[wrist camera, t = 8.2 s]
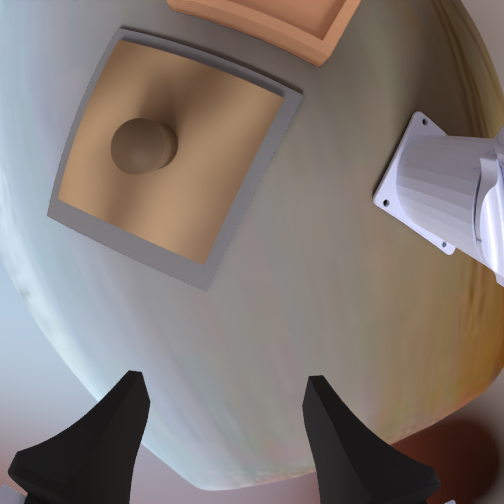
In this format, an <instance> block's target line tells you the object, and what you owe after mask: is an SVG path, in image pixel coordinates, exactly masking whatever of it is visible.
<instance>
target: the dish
mask: <svg viewBox="0 0 504 504" xmlns="http://www.w3.org/2000/svg"><path fill="white" fill-rule="evenodd" d="M360 1H361V0H167V2H168V4H169V6H170V8H171V9H172V10H173V11H177V12H181V13H185V14H189V15H192V16H196V17H199V18H202V19H206V20H209V21H212V22H215V23H218V24H221V25H224V26H227V27H230V28H232V29H235V30H238V31H240V32H243V33H246V34H248V35H251V36H253V37H256V38H258V39H260V40H263V41H265V42H267V43H270V44H272V45H274V46H277V47H279V48H281V49H283V50H285V51H287V52H289V53H291V54H293V55H296V56H298V57H300V58H301V59H303V60H305V61H307V62H309V63H311V64H313V65H315V66H317V67H320V66H321V65H322V64H323V63H324V62H325V61H326V60H327V59H328V58H329V57H330V55H331V53H332V52H333V50H334V48H335V46H336V44H337V43H338V41H339V39H340V37H341V35H342V33H343V32H344V30H345V28H346V26H347V24H348V23H349V21H350V19H351V17H352V15H353V14H354V12H355V10H356V8H357V7H358V5H359V3H360Z"/></svg>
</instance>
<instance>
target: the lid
mask: <svg viewBox="0 0 504 504" xmlns="http://www.w3.org/2000/svg"><path fill="white" fill-rule="evenodd" d="M284 99H285V98H283V97H281V96H279V95H277V94H274V93H272V92H270V91H268V90H266V89H264V88H261V87H259V86H257V85H255V84H252V83H250V82H248V81H246V80H243V79H241V78H238V77H236V76H233V75H231V74H229V73H226V72H223V71H221V70H218V69H216V68H213V67H210V66H207V65H205V64H202V63H199V62H196V61H193V60H190V59H187V58H184V57H181V56H178V55H175V54H172V53H168V52H165V51H161V50H158V49H154V48H151V47H147V46H143V45H139V44H135V43H131V42H127V41H122V40H118V42H117V44H116V45H115V47H114V49H113V51H112V53H111V55H110V57H109V59H108V61H107V63H106V65H105V67H104V69H103V71H102V73H101V75H100V77H99V79H98V81H97V83H96V86H95V88H94V90H93V93H92V95H91V97H90V100H89V102H88V104H87V107H86V109H85V112H84V114H83V117H82V120H81V122H80V125H79V128H78V131H77V133H76V136H75V139H74V142H73V145H72V148H71V151H70V155H69V158H68V161H67V165H66V168H65V172H64V175H63V179H62V183H61V187H60V191H59V195H58V199H59V200H61V201H63V202H65V203H68V204H70V205H72V206H74V207H76V208H78V209H80V210H82V211H84V212H86V213H88V214H91V215H93V216H95V217H97V218H99V219H101V220H103V221H105V222H108V223H110V224H112V225H114V226H116V227H118V228H121V229H123V230H125V231H127V232H129V233H132V234H134V235H136V236H138V237H140V238H143V239H145V240H147V241H149V242H151V243H154V244H156V245H158V246H160V247H163V248H165V249H167V250H169V251H172V252H174V253H176V254H179V255H181V256H183V257H185V258H188V259H190V260H192V261H195V262H197V263H199V264H202V265H204V264H205V262H206V260H207V258H208V256H209V253H210V251H211V249H212V247H213V244H214V242H215V240H216V238H217V236H218V234H219V231H220V229H221V227H222V225H223V223H224V221H225V218H226V216H227V214H228V212H229V210H230V208H231V206H232V203H233V201H234V199H235V197H236V195H237V193H238V191H239V189H240V187H241V185H242V182H243V180H244V178H245V176H246V174H247V172H248V170H249V168H250V166H251V164H252V162H253V160H254V158H255V156H256V154H257V152H258V150H259V148H260V146H261V144H262V142H263V140H264V138H265V136H266V134H267V132H268V130H269V128H270V126H271V124H272V122H273V120H274V118H275V116H276V114H277V112H278V110H279V108H280V106H281V105H282V103H283V101H284Z"/></svg>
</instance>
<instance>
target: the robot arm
mask: <svg viewBox="0 0 504 504" xmlns="http://www.w3.org/2000/svg"><path fill="white" fill-rule="evenodd" d="M423 119H424V121H425V125H424V124H423V122H422V121H423ZM384 200H387V204H386V205H383V202H384ZM373 202H374V203H375V204H376V205H377V206H379V207H380V208H382V209H383V210H385V211H386V212H388V213H389V214H391V215H392V216H394V217H395V218H397V219H398V220H400V221H401V222H403V223H404V224H406V225H407V226H409V227H410V228H412V229H413V230H415V231H416V232H417V233H419V234H420V235H422V236H423V237H424V238H426V239H427V240H429V241H430V242H431V243H433V244H434V245H436V246H437V247H438V248H440V249H441V250H442V251H444V252H445V253H446V254H448V255H451V254H452V253H453V252H454V250H455V248H458V249H460V250H461V251H463V252H465V253H466V254H468V255H470V256H471V257H473V258H475V259H476V260H478V261H479V262H481V263H482V264H484V265H486V266H487V267H489V268H490V269H492V270H493V271H494V273H495V275H496V280H497V283H499V284H500V285H502V286H503V287H504V125H503V126H502V127H501V129H500V131H499V133H498V134H497V135H496V136H495V138H494V139H488V138H476V137H462V136H448V135H447V134H446V133H445V132H444V131H442V130H441V129H440V128H439V127H438V126H437V125H436V124H435V123H434V122H432V121H431V120H430V119H429V118H428V117H427V116H425V115H424V114H423V113H422V112H415V113H414V114H413V116H412V118H411V120H410V122H409V125H408V127H407V129H406V131H405V133H404V135H403V138H402V140H401V142H400V144H399V146H398V148H397V150H396V152H395V154H394V157H393V159H392V161H391V163H390V165H389V167H388V169H387V171H386V173H385V175H384V177H383V179H382V181H381V183H380V184H379V186H378V188H377V190H376V192H375V194H374V196H373ZM443 242H444V244H443V246H442V243H443ZM149 407H150V399H149V396H148V392H147V389H146V385H145V382H144V378H143V375H142V372H138V371H130V370H129V371H128V372H127V373H126V374H125V375H124V376H123V377H122V378H121V379H120V381H119V382H118V383H117V384H116V385H115V386H114V387H113V388H112V389H111V390H110V391H109V392H108V393H107V395H106V396H105V397H104V398H103V399H102V400H101V401H100V402H99V403H98V404H97V405H95V407H93V408H92V409H91V410H90V411H89V412H88V413H87V414H86V415H84V416H83V417H82V418H81V419H80V420H78V421H77V422H76V423H74V424H73V425H71V426H70V427H69V428H67V429H66V430H64V431H62V432H61V433H59V434H57V435H56V436H54V437H52V438H50V439H48V440H46V441H44V442H42V443H40V444H38V445H35V446H33V447H30V448H27V449H24V450H21V451H18V452H17V453H16V455H15V457H14V459H13V461H12V463H11V465H10V468H9V469H8V474H9V476H10V477H11V478H12V479H13V480H14V481H15V482H16V483H17V484H18V485H19V486H20V487H22V488H23V489H24V490H25V491H26V492H27V493H28V495H27V497H25V496H23V495H22V494H21V493H19V492H17V491H15V490H14V489H12V488H10V487H9V486H7V485H5V484H2V487H1V489H0V504H129V500H130V490H131V481H132V475H133V468H134V464H135V459H136V456H137V452H138V449H139V446H140V443H141V440H142V436H143V433H144V430H145V427H146V423H147V419H148V414H149ZM302 407H303V416H304V423H305V428H306V432H307V436H308V440H309V443H310V447H311V451H312V454H313V458H314V462H315V466H316V471H317V477H318V484H319V492H320V502H321V504H427V503H426V499H427V498H429V497H430V496H431V495H432V494H433V493H435V492H436V491H437V490H438V489H439V487H440V485H441V483H440V481H439V479H438V476H437V474H436V472H435V471H434V469H433V468H432V467H430V466H427V465H425V464H422V463H420V462H418V461H416V460H413V459H412V458H410V457H408V456H406V455H404V454H402V453H401V452H399V451H398V450H396V449H394V448H393V447H391V446H390V445H388V444H387V443H385V442H384V441H383V440H382V439H380V438H379V437H378V436H376V435H375V434H374V433H373V432H372V431H371V430H369V429H368V428H367V427H366V426H365V425H364V424H363V423H362V422H361V421H360V420H359V419H358V418H357V417H356V416H355V415H354V414H353V413H352V412H351V410H350V409H349V408H348V407H347V406H346V405H345V403H344V402H343V401H342V400H341V399H340V397H339V396H338V395H337V394H336V392H335V391H334V390H333V388H332V387H331V386H330V384H329V383H328V381H327V380H326V379H325V377H324V376H323V375H319V376H309V378H308V382H307V387H306V392H305V396H304V401H303V405H302ZM446 504H456V503H455V501H454V500H451V501H449V502H448V503H446Z"/></svg>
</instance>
